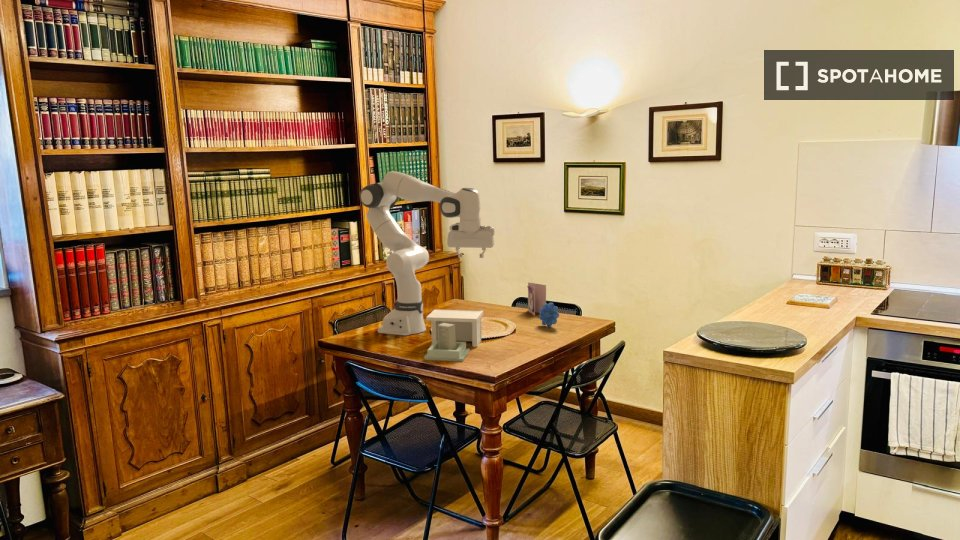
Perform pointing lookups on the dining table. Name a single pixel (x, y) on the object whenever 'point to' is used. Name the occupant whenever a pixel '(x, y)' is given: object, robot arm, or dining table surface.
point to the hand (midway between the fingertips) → (470, 257)
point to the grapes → (548, 314)
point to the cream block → (458, 324)
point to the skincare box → (447, 336)
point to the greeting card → (536, 297)
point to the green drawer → (447, 352)
